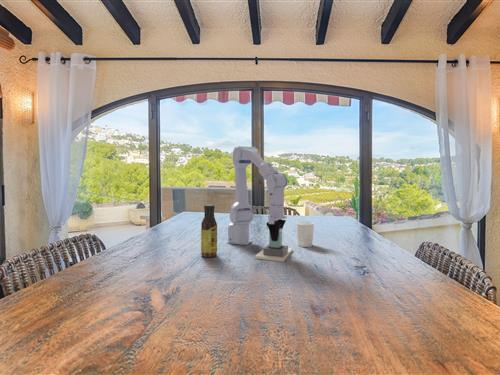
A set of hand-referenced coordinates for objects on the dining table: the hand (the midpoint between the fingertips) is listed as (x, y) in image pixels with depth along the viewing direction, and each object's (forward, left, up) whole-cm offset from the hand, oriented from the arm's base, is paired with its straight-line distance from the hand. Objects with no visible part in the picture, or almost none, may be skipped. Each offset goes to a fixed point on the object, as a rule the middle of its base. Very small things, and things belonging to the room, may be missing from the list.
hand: (276, 239), depth 119 cm
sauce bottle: (-25, -9, -7) cm, 27 cm away
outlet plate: (-1, +2, -6) cm, 7 cm away
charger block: (0, 0, -3) cm, 3 cm away
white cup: (+7, +21, -7) cm, 23 cm away
